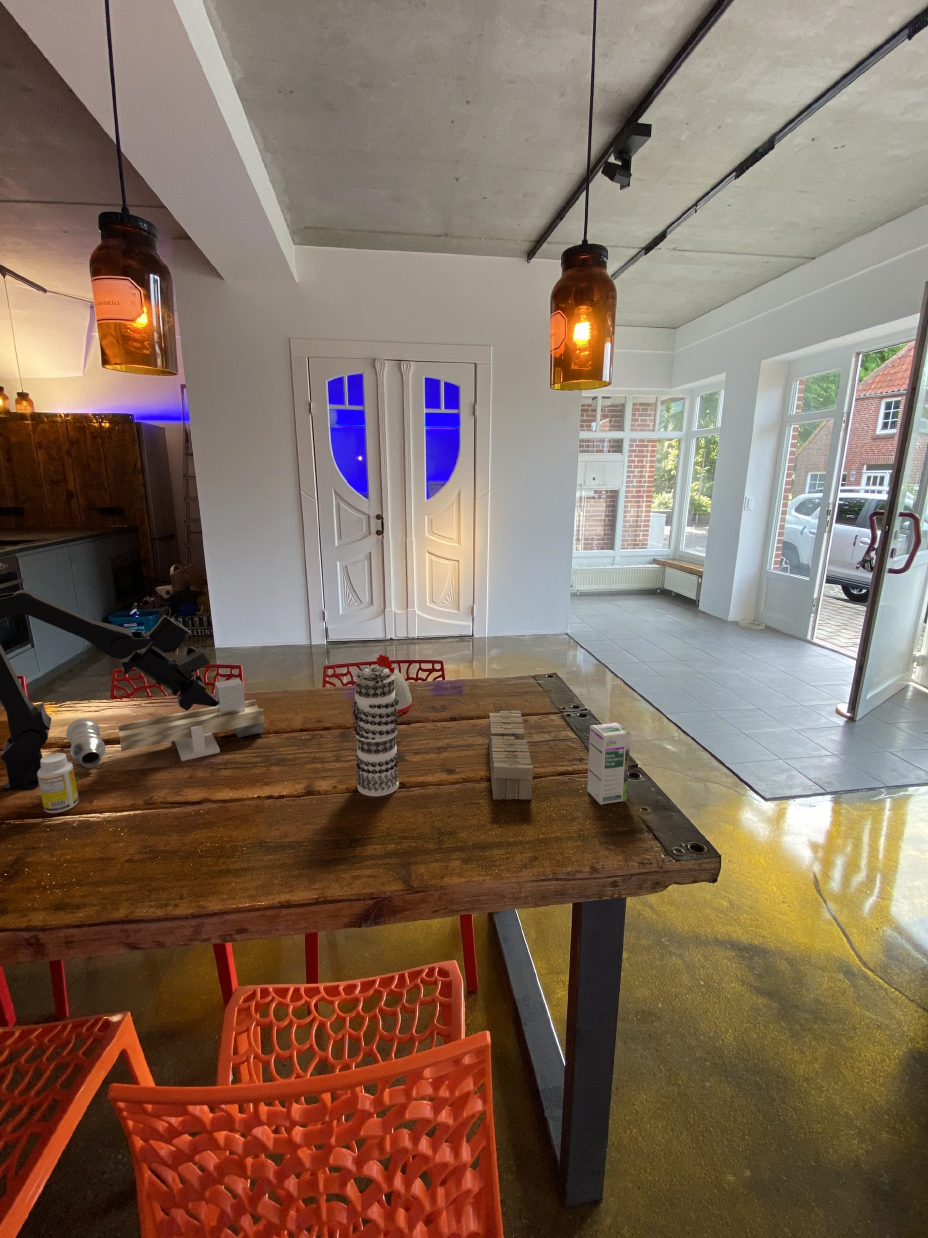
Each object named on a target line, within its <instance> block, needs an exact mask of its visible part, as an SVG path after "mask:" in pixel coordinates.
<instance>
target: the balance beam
mask: <svg viewBox="0 0 928 1238" xmlns="http://www.w3.org/2000/svg"><path fill="white" fill-rule="evenodd" d="M245 711H246V712H242V713H237V714H232V715H227V716H221V717H219V715H218V712H217V706H216V707H214V706H209V707H206V708H201V709H195V710H190V711H189V710H188V711H184V712H179V713H173V714H166V715H162V716H156V717H151V718H144V719H140V720H135V721H129V722H124V723H123V722H122V723H118V724H117V726H118V728H117V729H118V733H119V737H118V738H119V743H120V749H121V750H120V751H121V752H125V751H130V750H135V749H141V748H144V747H145V748H146V747H150V746H151V747H152V746H155V745H160V744H164V743H168V742H175V740H180V739H185V738H190V737H192V734H191V727H194V726H199V725H202V726H203V732H204V735H205V734H210V733H212V734H214V733H218V732H223V731H229V730H233V731H234V733H235V734H236V736H237V738H241V737H247V736H251V735H256V734H262V733H264V732H265V727H264V723H265V712H264V708H259V706H258V705H257V699H255V698H254V699H251V700H249V699H248V700H246V701H245Z"/></svg>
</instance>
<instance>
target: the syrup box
mask: <svg viewBox="0 0 928 1238" xmlns="http://www.w3.org/2000/svg"><path fill="white" fill-rule="evenodd" d="M588 743H589V747H588V749H589V750H588V768H587V769H588V770H587V788H586V789H587V792H588V793H589V794H590V796H591V797H593V798H594V799H595V800H596V802H597V803H598V804H599V805H601V806H602V805H606V804H607V805H608V804H613V803H619V802H626V801H627V796H628V783H629V781H628V780H629V762H630V747H631V732H630V731H629V730H628V729H626V728H625V727H624V726H623V725H621V724H619V723H618V722H617V721H616V722H612V723H603V724H596V725H594V724H593V725H592V724H591V725H590V726H589V741H588Z"/></svg>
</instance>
